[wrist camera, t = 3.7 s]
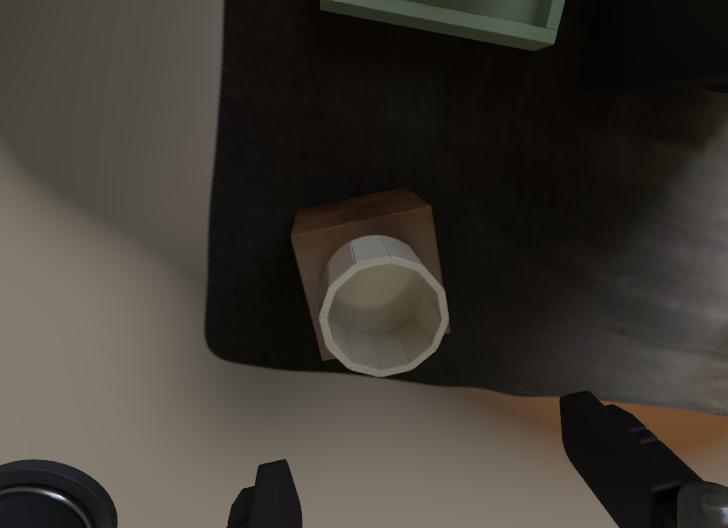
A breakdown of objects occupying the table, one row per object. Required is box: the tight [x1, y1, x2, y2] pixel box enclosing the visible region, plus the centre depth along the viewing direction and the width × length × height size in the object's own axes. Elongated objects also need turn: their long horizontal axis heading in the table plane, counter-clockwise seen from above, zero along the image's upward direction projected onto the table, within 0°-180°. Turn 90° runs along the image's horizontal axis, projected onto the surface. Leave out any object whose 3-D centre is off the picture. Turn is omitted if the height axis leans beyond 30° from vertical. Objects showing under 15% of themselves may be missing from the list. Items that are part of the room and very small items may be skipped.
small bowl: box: [319, 235, 449, 377], centre depth 24 cm, size 6×6×4 cm
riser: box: [290, 187, 450, 361], centre depth 30 cm, size 8×8×8 cm
